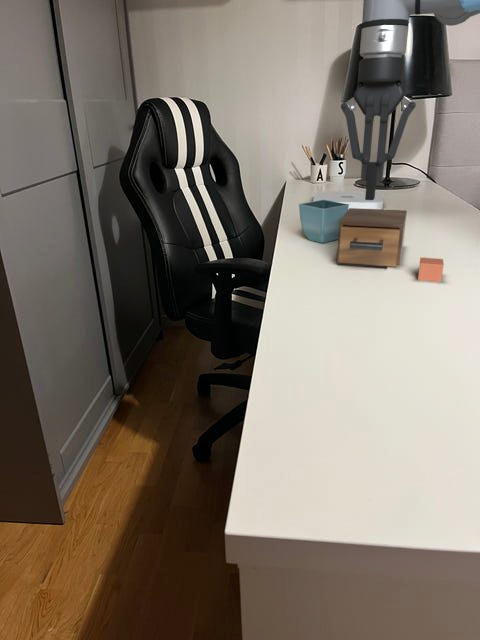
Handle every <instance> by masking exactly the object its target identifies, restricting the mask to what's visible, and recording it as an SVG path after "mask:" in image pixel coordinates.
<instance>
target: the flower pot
mask: <svg viewBox="0 0 480 640" xmlns="http://www.w3.org/2000/svg"><path fill="white" fill-rule="evenodd" d="M348 207H349V204H344V203H339V202H334V201H328V200H319V201H313V200H312V201H308V202H303V203H299V204H298V210H299V219H300V224H301V225H300V226H301V228H302V231H303V233H304V235H305V237H306V238H307V239H308V240H309V241H313V242H317V243H320V244H324V243H329V242H332V241H333V242H334V241H337V240H338V234H339V221H340V220H341V218H342V217H343V216H344V214H345V213H346V212H347V211H348Z"/></svg>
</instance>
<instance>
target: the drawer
mask: <svg viewBox="0 0 480 640" xmlns="http://www.w3.org/2000/svg"><path fill="white" fill-rule="evenodd" d="M399 235H400V229H398V228H389V227H369V226H350V225H346V227H345V226H342V227H341V230H340V247H339V263H352V264H366V265H379V266H388V267H395V268H396V267H397V265H396V264H397V254H398V245H399Z"/></svg>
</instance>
